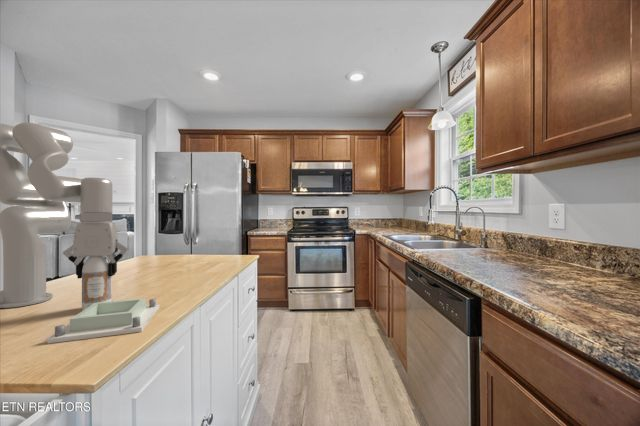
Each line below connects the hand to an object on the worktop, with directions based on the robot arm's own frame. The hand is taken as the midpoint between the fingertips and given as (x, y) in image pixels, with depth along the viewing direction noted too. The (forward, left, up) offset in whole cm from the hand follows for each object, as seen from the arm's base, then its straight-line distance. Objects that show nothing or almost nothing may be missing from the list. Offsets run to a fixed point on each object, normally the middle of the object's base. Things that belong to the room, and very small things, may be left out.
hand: (97, 276), depth 82 cm
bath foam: (0, 0, -10) cm, 10 cm away
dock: (+9, -15, -10) cm, 20 cm away
